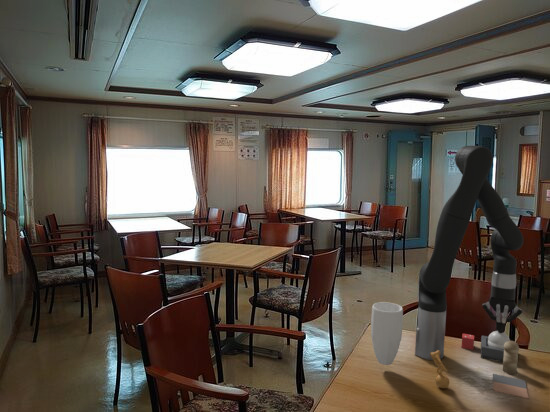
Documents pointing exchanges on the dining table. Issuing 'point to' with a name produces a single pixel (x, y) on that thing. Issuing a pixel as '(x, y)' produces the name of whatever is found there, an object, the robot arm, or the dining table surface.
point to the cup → (386, 331)
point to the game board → (510, 386)
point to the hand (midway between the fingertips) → (500, 331)
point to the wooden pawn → (510, 357)
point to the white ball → (497, 340)
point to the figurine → (441, 379)
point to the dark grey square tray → (491, 351)
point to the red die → (467, 341)
